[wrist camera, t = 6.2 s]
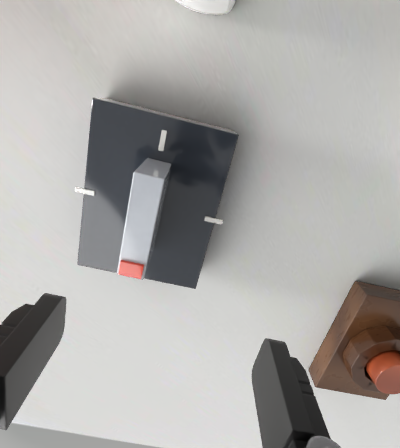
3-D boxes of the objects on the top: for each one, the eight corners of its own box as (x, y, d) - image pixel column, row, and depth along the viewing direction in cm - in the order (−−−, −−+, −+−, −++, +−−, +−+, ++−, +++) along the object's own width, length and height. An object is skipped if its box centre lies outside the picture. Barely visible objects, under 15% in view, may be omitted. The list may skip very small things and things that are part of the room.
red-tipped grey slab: (147, 157, 21) (132, 172, 16) (171, 163, 21) (164, 180, 17) (131, 243, 23) (115, 276, 19) (153, 248, 24) (142, 282, 19)
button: (376, 345, 27) (387, 361, 25) (412, 353, 27) (426, 369, 25) (358, 373, 28) (368, 390, 26) (393, 380, 28) (405, 397, 27)
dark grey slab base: (98, 95, 22) (82, 95, 19) (241, 132, 23) (247, 137, 20) (83, 246, 27) (69, 264, 24) (202, 271, 28) (202, 291, 25)
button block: (354, 280, 28) (377, 307, 25) (430, 296, 29) (464, 325, 25) (308, 369, 33) (321, 403, 29) (374, 382, 33) (396, 416, 30)
